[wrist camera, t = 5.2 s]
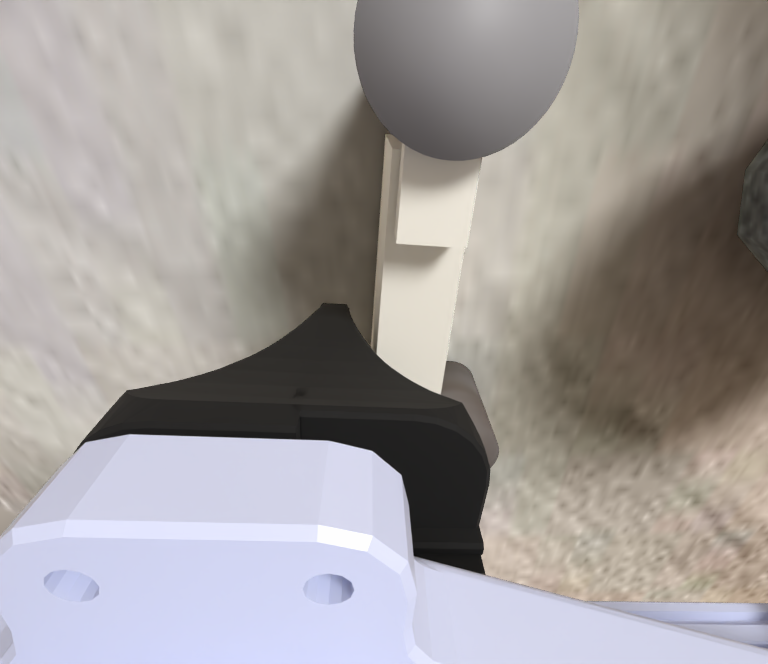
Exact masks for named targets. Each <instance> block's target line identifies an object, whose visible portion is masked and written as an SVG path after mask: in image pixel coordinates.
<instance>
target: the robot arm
mask: <svg viewBox="0 0 768 664" xmlns="http://www.w3.org/2000/svg"><path fill="white" fill-rule="evenodd" d="M489 480H490V465H489V462H488V457H487V454H486V450H485V447H484V445H483V442H482V440H481V437H480V435H479V433H478V431H477V429H476V427H475V425H474V423H473V421H472V419H471V417H470V416H469V414H468V412H467V410H466V408H465V406H464V404H463V403H462V402H459V401H456V400H454V399H451V398H448V397H446V396H443V395H440V394H438V393H435V392H432V391H430V390H428V389H426V388H424V387H422V386H420V385H418V384H416V383H414V382H413V381H411V380H409V379H408V378H406V377H404V376H403V375H401V374H400V373H399V372H397V371H396V370H394V369H393V368H391V367H390V366H389V365H388V364H386V363H385V362H384V361H383V360H382V359H381V358H380V357H379V356H378V355H377V354H376V353H375V352H374V351H373V350H372V349H371V347H370V346H369V345H368V343H367V342H366V341H365V339H364V338H363V337H362V335H361V333H360V332H359V330H358V329H357V327H356V325H355V323H354V321H353V319H352V317H351V315H350V312H349V308H348V307H347V304H327V303H323V304H322V305H321V307H320V308H319V309H318V310H317V311H315V312H314V313H313V314H312V315H311V316H310V317H309V318H308V319H307V320H305V321H304V322H303V323H302V324H301V325H299V326H298V327H297V328H296V329H294V330H293V331H291V332H290V333H289V334H287V335H286V336H284V337H283V338H282V339H280V340H279V341H277V342H276V343H274V344H272V345H271V346H269V347H267V348H265V349H263V350H262V351H260V352H258V353H256V354H254V355H252V356H250V357H248V358H245V359H243V360H240V361H238V362H235V363H233V364H230V365H228V366H225V367H223V368H220V369H217V370H214V371H211V372H208V373H205V374H202V375H198V376H194V377H191V378H187V379H183V380H179V381H175V382H170V383H165V384H160V385H155V386H149V387H144V388H139V389H133V390H127V391H126V392H125V393H124V394H123V395H122V396H121V397H120V398H119V400H118V401H117V402H116V403H115V404H114V405H113V406H112V407H111V408H110V410H109V411H108V412H107V413H106V414H105V415H104V417H103V418H102V419H101V420H100V421H99V422H98V424H97V425H96V426H95V427H94V428H93V429H92V431H91V432H90V433H89V434H88V435H87V436H86V437H85V439H84V440H83V441H82V442H81V444H80V445H79V446H78V448H77V449H76V451H75V452H74V453H73V455H72V456H71V457H70V458H68V459H67V460H66V461H65V462H64V463H63V464H62V465H61V466H60V467H59V468H58V470H57V471H56V472H55V473H54V474H53V475H52V476H51V478H50V479H49V480H48V481H47V482H46V483H45V485H44V486H43V487H42V488H41V489H40V490H39V491H38V493H37V494H36V495H35V496H34V497H33V498H32V500H31V501H30V502H29V503H28V504H27V505H26V506H25V508H24V509H23V510H22V511H21V512H20V513H19V515H18V516H17V517H16V518H15V519H14V520H13V522H12V523H11V524H10V525H9V526H8V527H7V529H6V530H5V531H4V532H3V533H2V534H1V535H0V664H768V603H708V602H625V601H583V600H579V599H575V598H571V597H567V596H564V595H560V594H556V593H552V592H548V591H545V590H541V589H537V588H533V587H529V586H526V585H522V584H518V583H514V582H510V581H507V580H503V579H499V578H495V577H491V576H487V575H485V571H484V567H483V563H482V559H481V555H482V554H483V550H484V544H483V539H482V536H481V532H480V528H479V523H480V519H481V515H482V511H483V507H484V503H485V499H486V495H487V491H488V487H489Z"/></svg>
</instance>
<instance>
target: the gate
mask: <svg viewBox="0 0 768 664" xmlns="http://www.w3.org/2000/svg"><path fill="white" fill-rule="evenodd" d="M578 21H579V7H578V0H358V2H357V7H356V12H355V22H354V52H355V60H356V66H357V70H358V75H359V79H360V82H361V85H362V88H363V90H364V93H365V96H366V98H367V100H368V102H369V104H370V106H371V108H372V110H373V111H374V113H375V114H376V116H377V117H378V119H379V120H380V122H381V123H382V124H383V125H384V126H385V127H386V129H387V130H388V131H389V132H390V133H391V134H392V135H391V134H385V148H384V163H383V177H382V192H381V206H380V221H379V236H378V250H377V265H376V279H375V294H374V308H373V323H372V337H371V349H372V350H373V351H374V352H375V353H376V354H377V355H378V356H379V357H380V358H381V359H382V360H383V361H384V362H385V363H386V364H388V365H389V366H390V367H391V368H393V369H394V370H396V371H397V372H399V373H400V374H401V375H403V376H404V377H406V378H408V379H409V380H411V381H413V382H414V383H416V384H418V385H420V386H422V387H424V388H426V389H428V390H430V391H432V392H435V393H438V394H440V395H441V390H442V384H443V377H444V371H445V365H446V359H447V353H448V347H449V341H450V335H451V329H452V323H453V317H454V311H455V305H456V299H457V292H458V286H459V280H460V274H461V268H462V262H463V256H464V250H465V248H467V246H468V240H469V234H470V228H471V222H472V216H473V210H474V204H475V198H476V192H477V186H478V180H479V174H480V168H481V162H482V157H485V156H488V155H491V154H493V153H496V152H498V151H500V150H502V149H504V148H506V147H507V146H509V145H511V144H513V143H514V142H516V141H517V140H518V139H520V138H521V137H522V136H524V135H525V134H526V133H527V132H528V131H529V130H530V129H531V128H532V127H533V126H534V125H535V124H536V123H537V122H538V121H539V120H540V119H541V118H542V116H543V115H544V114H545V113H546V112H547V110H548V109H549V107H550V106H551V104H552V103H553V101H554V100H555V98H556V96H557V94H558V93H559V91H560V89H561V87H562V85H563V83H564V80H565V78H566V76H567V73H568V71H569V68H570V65H571V61H572V58H573V54H574V51H575V45H576V40H577V34H578Z"/></svg>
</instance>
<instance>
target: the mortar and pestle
mask: <svg viewBox="0 0 768 664" xmlns="http://www.w3.org/2000/svg"><path fill="white" fill-rule="evenodd" d="M737 235H738V236H739V238H740V239H741V240H742V241H743V242H744V244H745V245H746V246H747V247H748V249H749V250H750V251H751V252H752V253H753V255H754V256H755V257H756V258H757V259H758V261H759V262H760V263H761V264H762V265H763V267H764V268H765V269H766V270H767V272H768V140H767V141H766V143H765V144H764V145H763V147H762V148H761V149H760V151H759V152H758V154H757V155H756V156H755V158H754V159H753V160H752V162H751V163H750V164H749V166H748V167H747V169H746V170H745V177H744V184H743V192H742V200H741V208H740V216H739V223H738V231H737Z"/></svg>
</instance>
